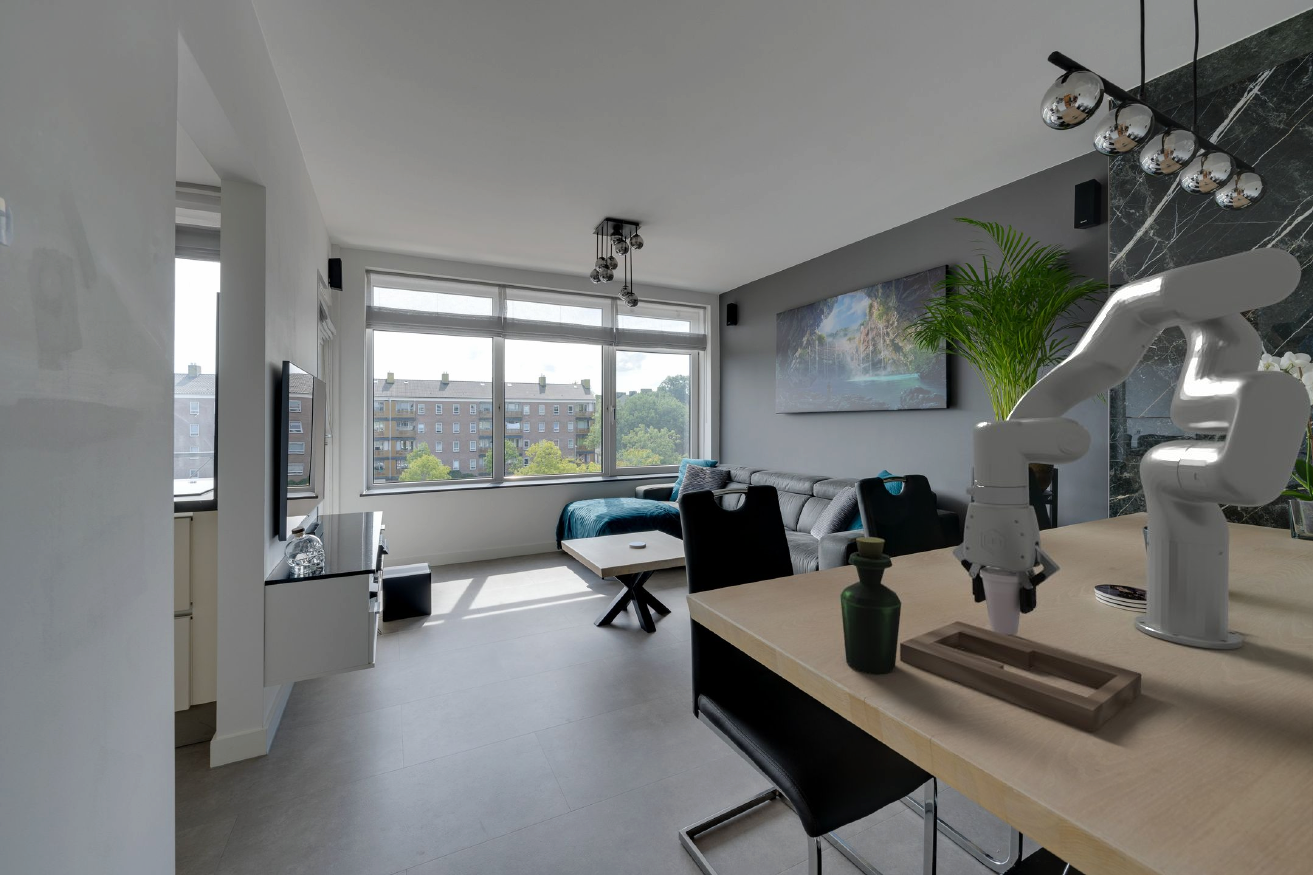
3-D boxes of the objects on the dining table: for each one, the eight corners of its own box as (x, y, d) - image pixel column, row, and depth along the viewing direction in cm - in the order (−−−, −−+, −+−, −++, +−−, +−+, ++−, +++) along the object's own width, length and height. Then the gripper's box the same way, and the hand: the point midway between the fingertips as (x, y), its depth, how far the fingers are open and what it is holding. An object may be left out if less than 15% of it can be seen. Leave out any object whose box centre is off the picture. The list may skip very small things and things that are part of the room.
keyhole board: (957, 636, 88) (957, 621, 88) (1141, 693, 69) (1141, 673, 69) (900, 659, 79) (900, 642, 79) (1092, 732, 60) (1092, 710, 60)
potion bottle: (902, 659, 80) (902, 536, 80) (900, 682, 72) (900, 547, 72) (843, 649, 83) (843, 532, 83) (836, 670, 76) (836, 542, 76)
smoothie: (1035, 638, 85) (1033, 549, 85) (990, 637, 86) (987, 548, 86) (1017, 624, 91) (1014, 541, 91) (975, 622, 92) (972, 540, 92)
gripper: (936, 494, 94) (938, 598, 94) (1052, 503, 79) (1055, 626, 79) (959, 490, 98) (961, 589, 98) (1073, 498, 83) (1076, 615, 84)
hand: (1003, 605), depth 89 cm, fingers closed on smoothie, 6 cm apart
